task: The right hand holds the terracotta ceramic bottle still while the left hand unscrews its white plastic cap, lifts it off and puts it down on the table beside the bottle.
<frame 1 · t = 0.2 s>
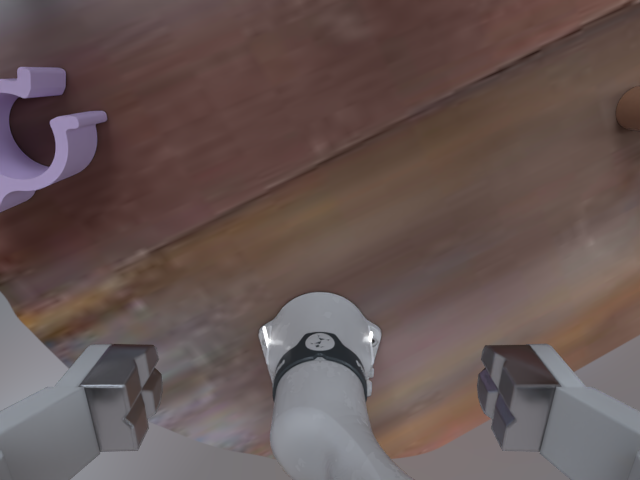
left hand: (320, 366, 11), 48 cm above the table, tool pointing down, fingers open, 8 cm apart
bottle: (637, 107, 55), on the table
clip: (36, 142, 56), on the table
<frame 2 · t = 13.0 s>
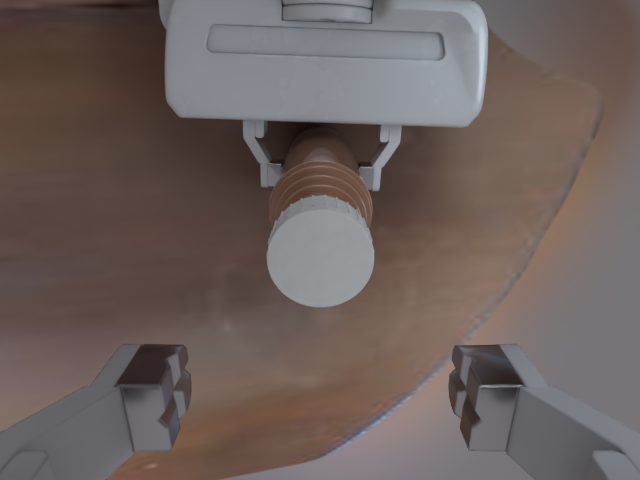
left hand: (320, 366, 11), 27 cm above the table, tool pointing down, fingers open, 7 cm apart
right hand: (320, 187, 31), fingers closed on bottle, 5 cm apart
bottle: (320, 160, 36), on the table, touching right hand
cap: (320, 257, 17), point 20 cm above the table, screwed on, not yet turned
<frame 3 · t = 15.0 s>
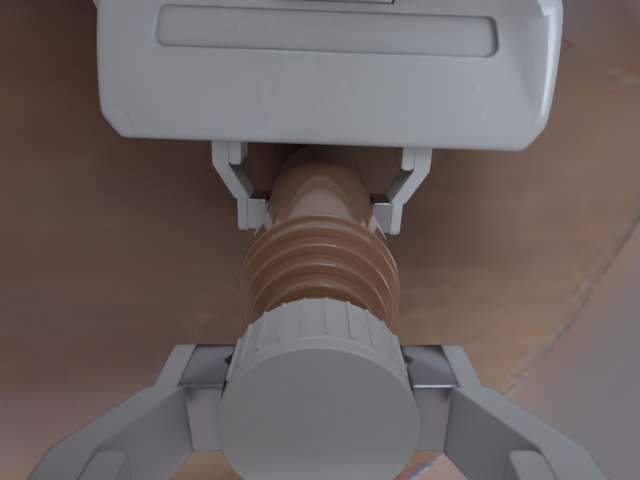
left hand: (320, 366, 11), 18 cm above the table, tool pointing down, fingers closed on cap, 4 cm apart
bottle: (319, 186, 28), on the table, touching right hand
cap: (318, 422, 9), point 20 cm above the table, screwed on, not yet turned, touching left hand
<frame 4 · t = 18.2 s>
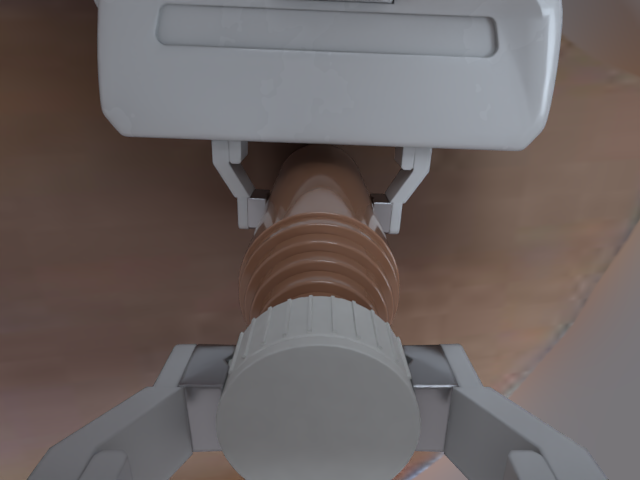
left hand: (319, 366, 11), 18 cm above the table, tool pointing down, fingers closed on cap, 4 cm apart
bottle: (319, 186, 28), on the table, touching right hand
cap: (318, 420, 9), point 20 cm above the table, turned 76° so far, risen 0.1 cm, still on its thread, touching left hand
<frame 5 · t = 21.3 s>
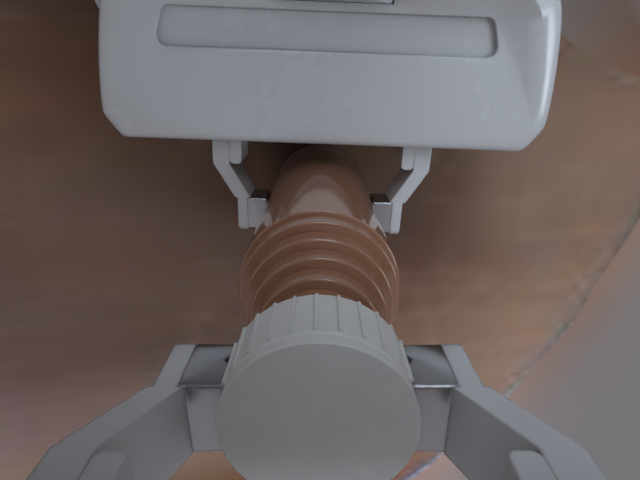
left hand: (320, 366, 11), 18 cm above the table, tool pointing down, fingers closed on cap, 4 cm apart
bottle: (319, 186, 28), on the table, touching right hand
cap: (318, 418, 9), point 20 cm above the table, turned 153° so far, risen 0.2 cm, still on its thread, touching left hand
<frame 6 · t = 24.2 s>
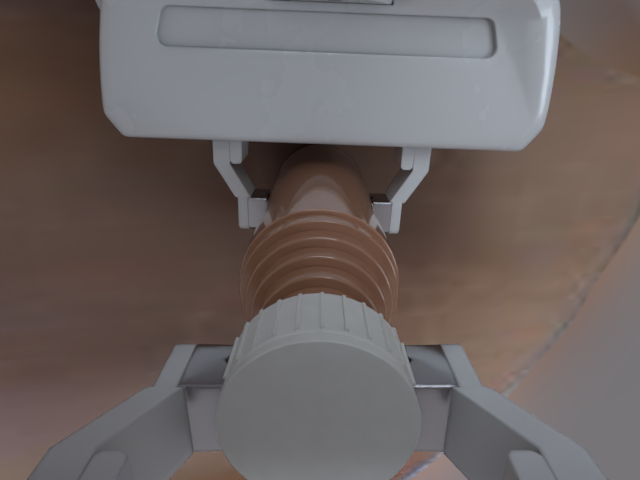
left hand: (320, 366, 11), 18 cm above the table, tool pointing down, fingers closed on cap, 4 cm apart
bottle: (319, 186, 28), on the table, touching right hand
cap: (318, 417, 9), point 20 cm above the table, turned 229° so far, risen 0.3 cm, still on its thread, touching left hand
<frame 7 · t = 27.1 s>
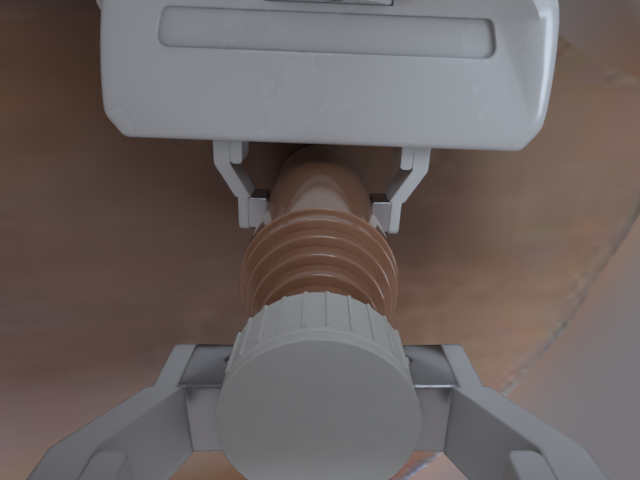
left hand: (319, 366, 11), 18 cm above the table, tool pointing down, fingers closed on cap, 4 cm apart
bottle: (319, 186, 28), on the table, touching right hand
cap: (318, 416, 9), point 20 cm above the table, turned 306° so far, risen 0.3 cm, still on its thread, touching left hand
when the left hand's fingers open (2 cm above the table, at t = 38.0 s): cap drops 2 cm, point 2 cm above the table.
when the right hand's fingers open (6 cm above the table, at t = 39.2 s): bottle stays where it is, on the table.
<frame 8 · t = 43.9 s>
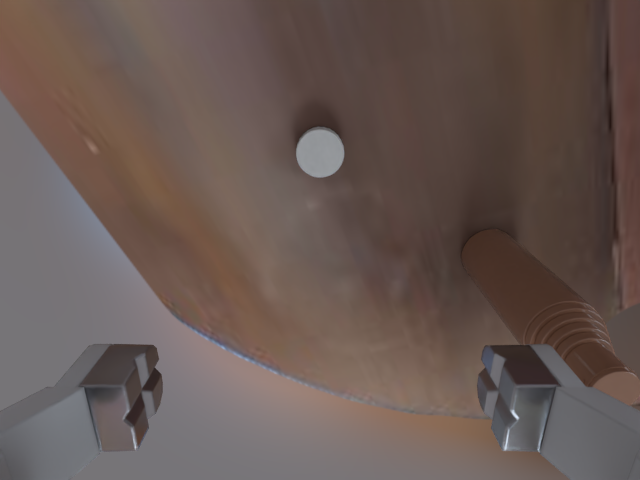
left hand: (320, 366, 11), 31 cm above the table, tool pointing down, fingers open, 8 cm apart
bottle: (488, 254, 43), on the table
cap: (320, 153, 38), point 2 cm above the table, off its thread
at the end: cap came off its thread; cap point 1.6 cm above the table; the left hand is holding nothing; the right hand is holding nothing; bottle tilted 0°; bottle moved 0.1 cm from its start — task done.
